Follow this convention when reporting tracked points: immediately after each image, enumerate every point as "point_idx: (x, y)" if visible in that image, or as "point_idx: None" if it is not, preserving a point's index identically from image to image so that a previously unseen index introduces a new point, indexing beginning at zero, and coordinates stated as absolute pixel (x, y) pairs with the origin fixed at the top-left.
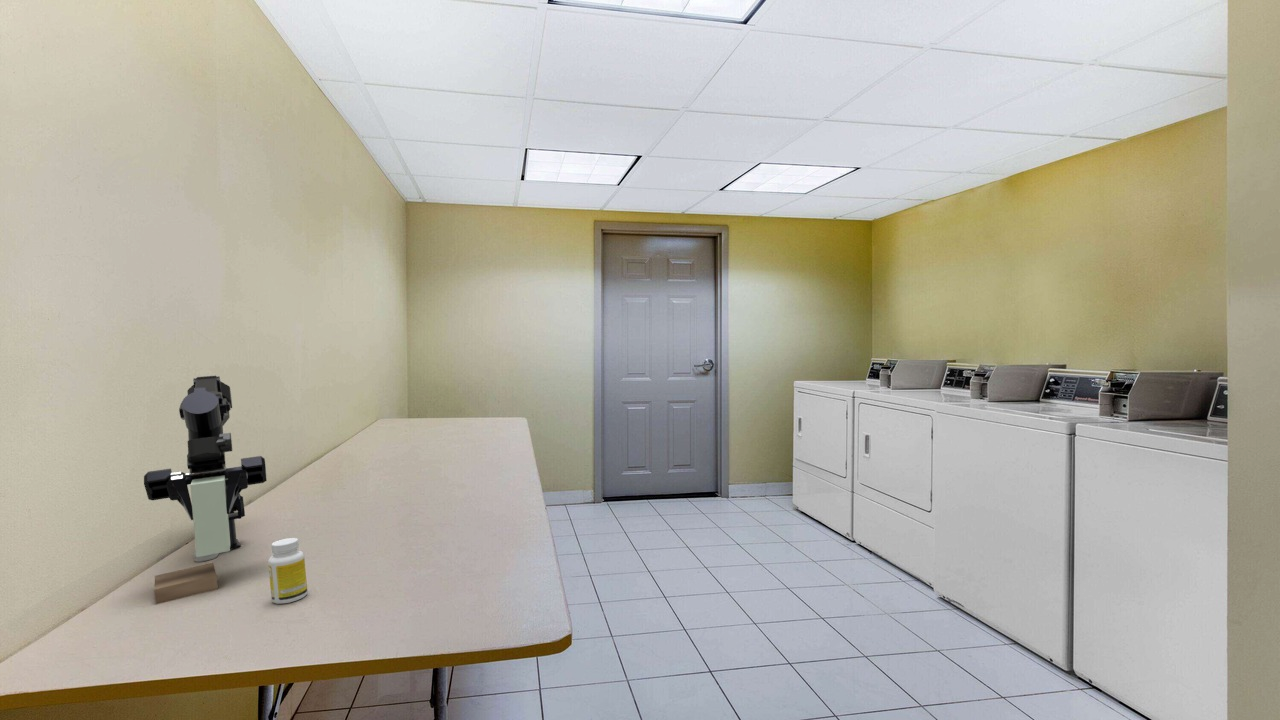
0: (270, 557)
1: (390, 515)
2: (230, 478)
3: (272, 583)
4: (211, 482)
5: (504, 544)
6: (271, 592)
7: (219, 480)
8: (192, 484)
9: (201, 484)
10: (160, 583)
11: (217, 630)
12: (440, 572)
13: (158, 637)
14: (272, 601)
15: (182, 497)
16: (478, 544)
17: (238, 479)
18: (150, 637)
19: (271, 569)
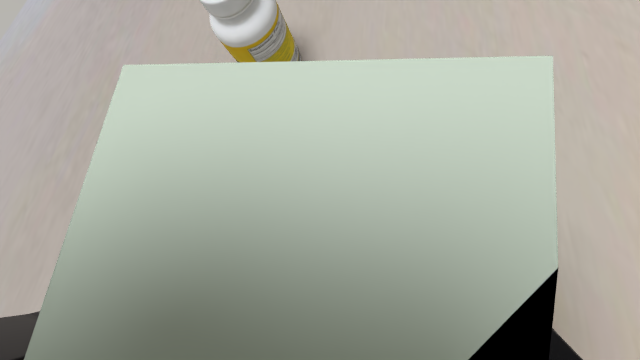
0: (265, 8)
1: None
2: (24, 345)
3: (288, 28)
4: (245, 69)
5: (14, 77)
6: (296, 48)
7: (152, 98)
8: (511, 76)
9: (368, 69)
10: None
11: (386, 2)
12: (111, 28)
13: (473, 29)
14: (300, 60)
15: (575, 356)
16: (25, 104)
17: (4, 320)
18: (486, 38)
19: (277, 4)
